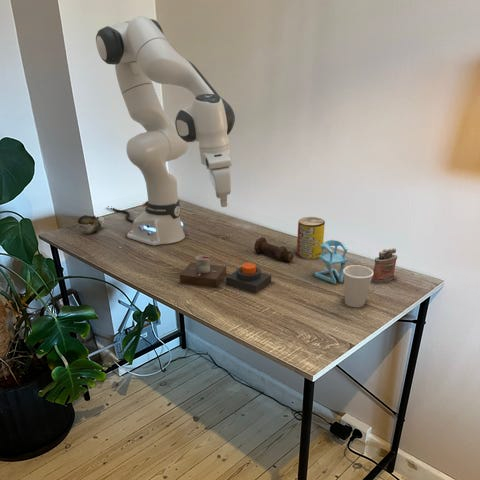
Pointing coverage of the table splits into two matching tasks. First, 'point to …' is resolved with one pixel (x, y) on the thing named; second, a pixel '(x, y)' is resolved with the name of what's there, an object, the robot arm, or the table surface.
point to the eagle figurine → (93, 221)
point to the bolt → (273, 250)
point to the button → (248, 268)
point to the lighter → (384, 266)
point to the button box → (248, 280)
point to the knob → (202, 263)
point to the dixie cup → (356, 284)
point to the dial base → (203, 276)
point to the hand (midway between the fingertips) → (221, 201)
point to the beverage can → (310, 237)
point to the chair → (332, 261)
